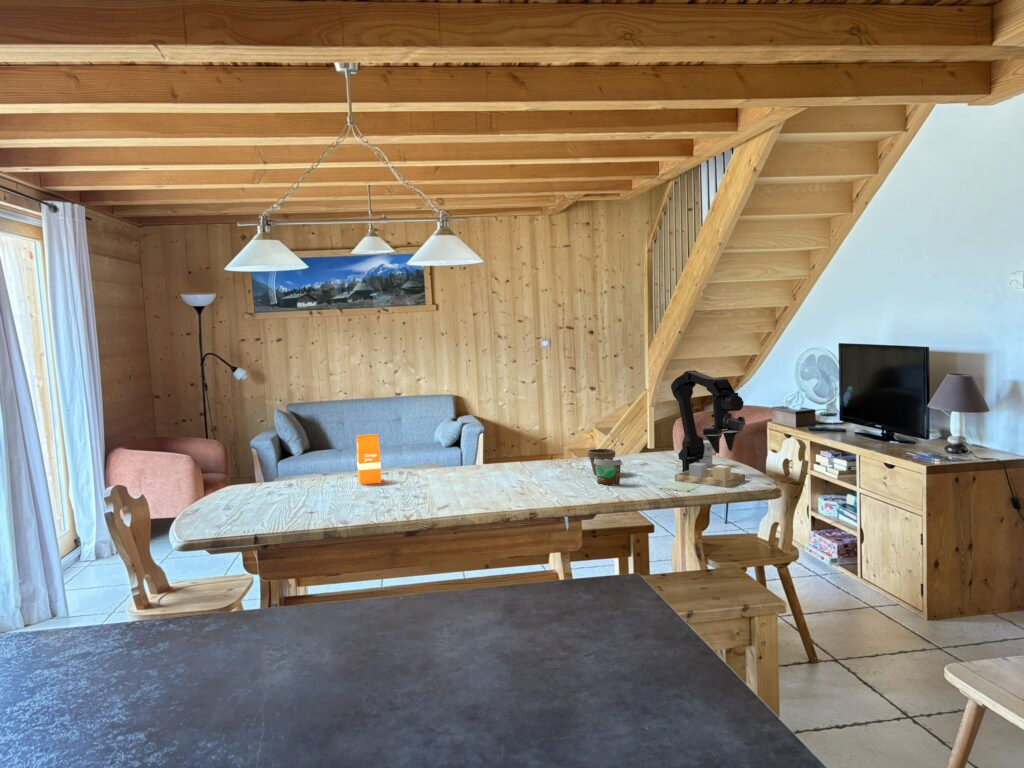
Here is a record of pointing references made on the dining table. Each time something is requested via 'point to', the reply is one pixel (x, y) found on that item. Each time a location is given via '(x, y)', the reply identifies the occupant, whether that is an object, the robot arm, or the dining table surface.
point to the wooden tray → (710, 479)
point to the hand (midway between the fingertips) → (724, 452)
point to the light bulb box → (707, 454)
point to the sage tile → (681, 486)
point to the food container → (608, 471)
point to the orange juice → (368, 459)
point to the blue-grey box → (698, 470)
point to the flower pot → (600, 456)
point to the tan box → (721, 472)
